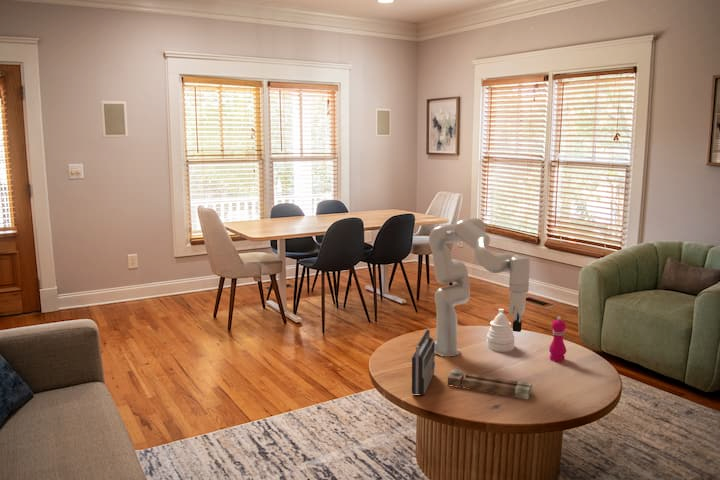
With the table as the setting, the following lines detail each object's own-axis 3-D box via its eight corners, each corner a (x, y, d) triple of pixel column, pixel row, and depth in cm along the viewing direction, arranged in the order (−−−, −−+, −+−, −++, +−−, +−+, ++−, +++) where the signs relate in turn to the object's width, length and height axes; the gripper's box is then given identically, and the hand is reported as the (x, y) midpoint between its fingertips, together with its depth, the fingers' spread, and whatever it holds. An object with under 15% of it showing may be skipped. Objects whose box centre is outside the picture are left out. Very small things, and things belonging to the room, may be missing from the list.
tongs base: (446, 385, 246) (446, 376, 245) (452, 377, 253) (452, 368, 252) (528, 399, 232) (528, 389, 231) (531, 391, 239) (532, 382, 238)
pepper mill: (563, 356, 275) (565, 314, 272) (567, 362, 268) (569, 319, 265) (547, 356, 276) (549, 314, 272) (550, 362, 269) (552, 319, 265)
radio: (425, 397, 235) (425, 348, 231) (411, 395, 236) (412, 347, 233) (436, 373, 258) (436, 328, 254) (423, 372, 259) (424, 327, 256)
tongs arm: (464, 383, 246) (465, 374, 246) (467, 380, 249) (467, 372, 248) (529, 395, 235) (530, 385, 234) (531, 392, 238) (531, 382, 237)
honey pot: (485, 341, 296) (486, 306, 293) (512, 342, 294) (513, 307, 291) (487, 351, 284) (488, 314, 281) (515, 352, 282) (516, 314, 279)
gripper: (513, 281, 250) (511, 324, 254) (505, 290, 237) (503, 335, 240) (531, 283, 247) (529, 326, 250) (524, 292, 234) (522, 338, 237)
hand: (516, 330), depth 245 cm, fingers closed
